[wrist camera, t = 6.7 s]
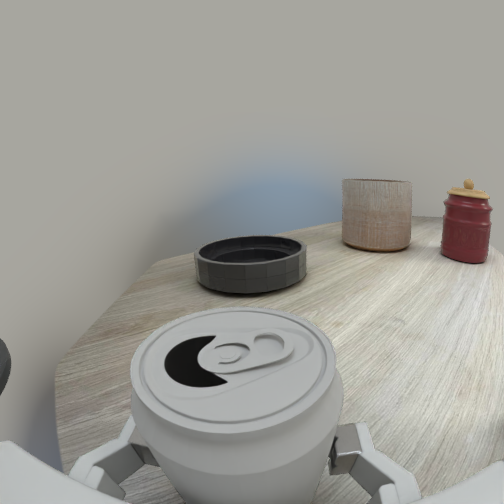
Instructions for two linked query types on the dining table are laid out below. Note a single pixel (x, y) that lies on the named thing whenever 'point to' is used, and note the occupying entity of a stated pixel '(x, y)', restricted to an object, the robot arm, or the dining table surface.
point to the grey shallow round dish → (251, 263)
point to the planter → (376, 214)
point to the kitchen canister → (466, 224)
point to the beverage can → (238, 404)
